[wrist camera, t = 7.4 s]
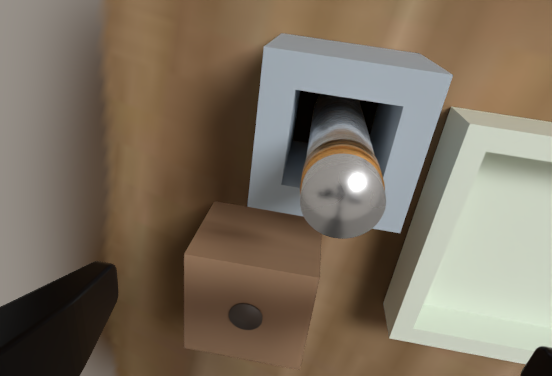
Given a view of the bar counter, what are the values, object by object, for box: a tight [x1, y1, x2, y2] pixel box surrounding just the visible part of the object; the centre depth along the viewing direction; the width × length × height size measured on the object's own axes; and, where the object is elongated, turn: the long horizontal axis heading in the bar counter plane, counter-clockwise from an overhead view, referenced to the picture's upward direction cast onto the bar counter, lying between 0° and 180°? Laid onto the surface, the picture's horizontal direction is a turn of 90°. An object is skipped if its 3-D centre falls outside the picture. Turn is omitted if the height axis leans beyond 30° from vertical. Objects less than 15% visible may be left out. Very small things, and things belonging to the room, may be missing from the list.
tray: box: [383, 107, 552, 364], centre depth 18 cm, size 12×12×3 cm
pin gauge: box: [300, 94, 386, 238], centre depth 14 cm, size 2×2×9 cm
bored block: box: [247, 33, 453, 233], centre depth 16 cm, size 6×6×5 cm
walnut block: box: [184, 201, 322, 370], centre depth 20 cm, size 6×6×5 cm
